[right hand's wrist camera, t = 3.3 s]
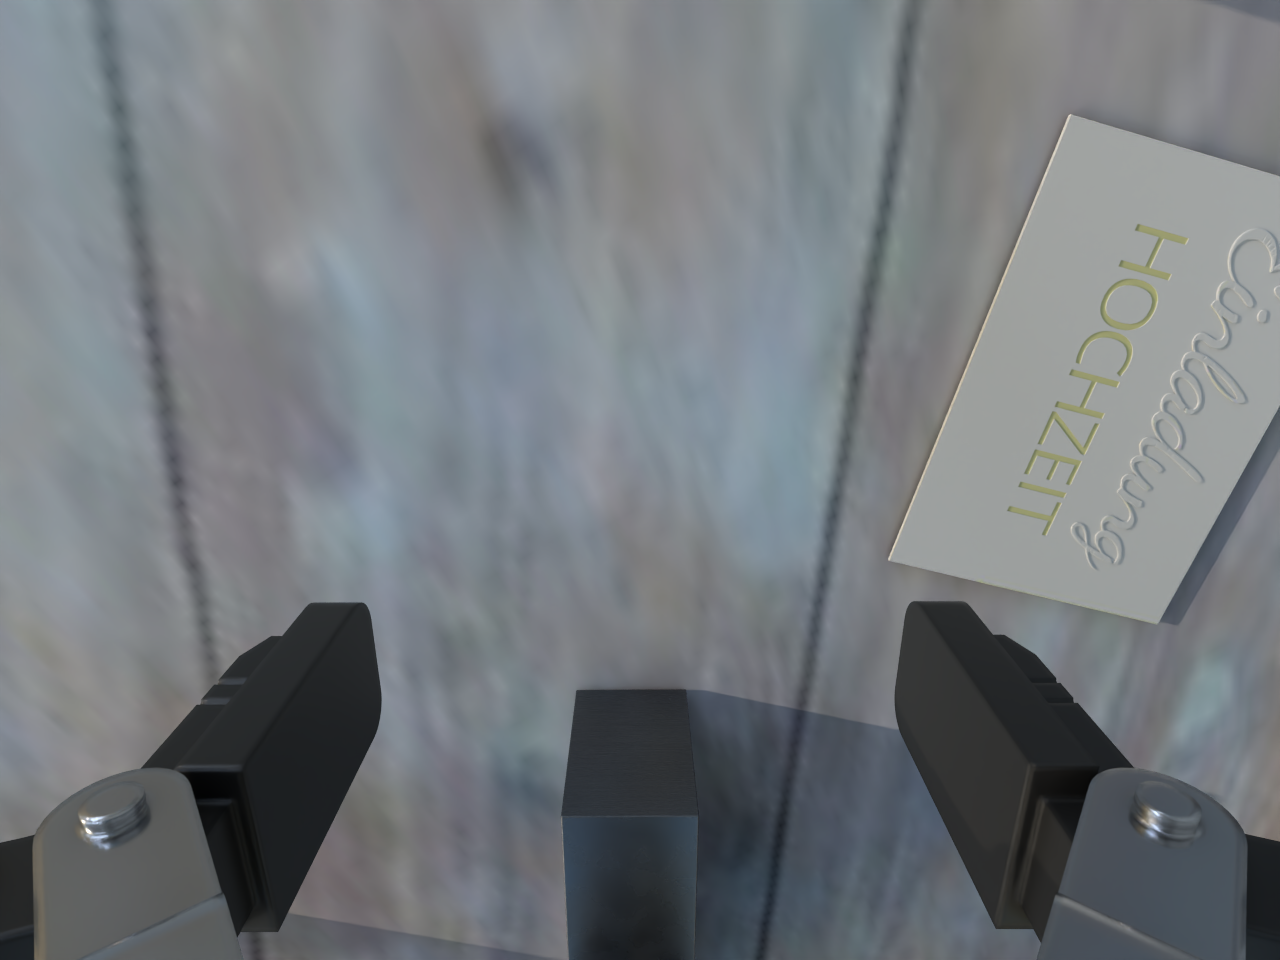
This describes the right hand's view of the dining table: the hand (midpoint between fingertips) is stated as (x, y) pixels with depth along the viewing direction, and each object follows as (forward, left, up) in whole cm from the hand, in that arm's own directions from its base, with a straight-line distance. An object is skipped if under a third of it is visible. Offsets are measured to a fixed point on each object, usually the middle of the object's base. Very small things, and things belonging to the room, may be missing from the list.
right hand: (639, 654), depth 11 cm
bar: (+22, +21, -26) cm, 40 cm away
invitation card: (-14, +18, -26) cm, 34 cm away
